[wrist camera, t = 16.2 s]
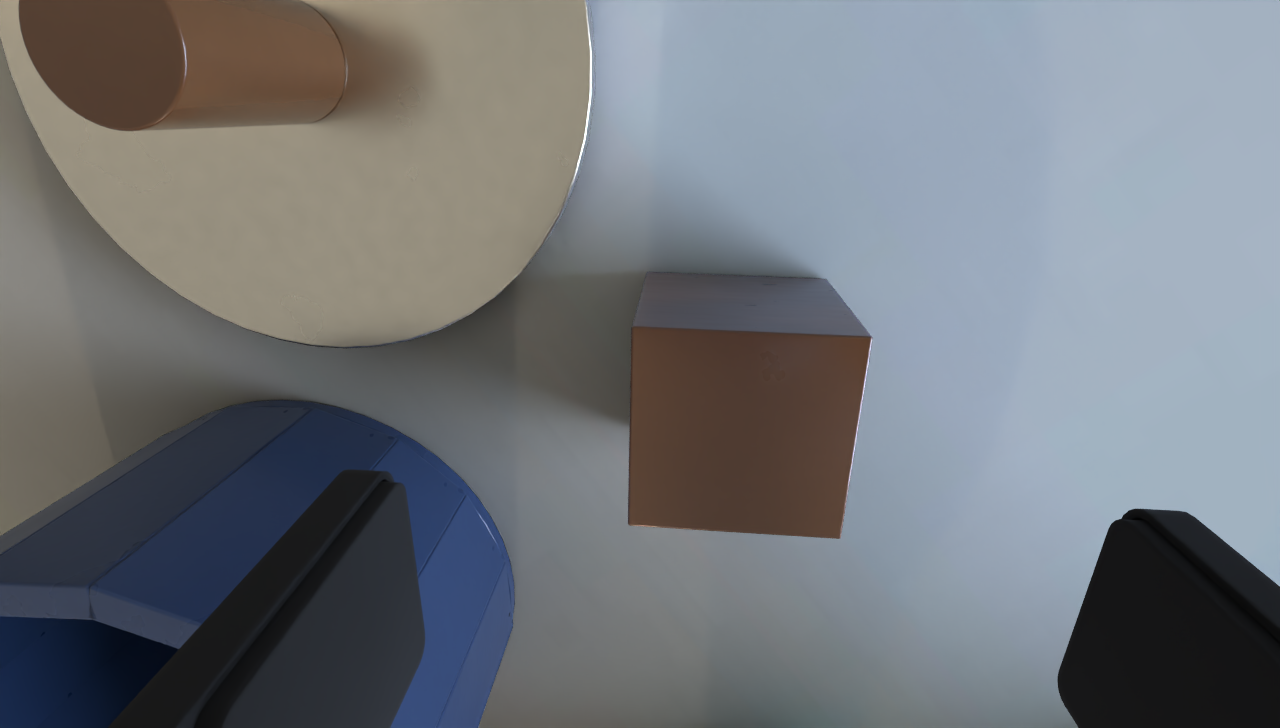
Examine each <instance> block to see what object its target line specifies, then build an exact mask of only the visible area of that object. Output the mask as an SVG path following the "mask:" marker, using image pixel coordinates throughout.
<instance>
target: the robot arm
mask: <svg viewBox="0 0 1280 728" xmlns="http://www.w3.org/2000/svg"><path fill="white" fill-rule="evenodd" d="M424 647H425V628H424V620H423V613H422V605H421V598H420V590H419V583H418V575H417V568H416V560H415V553H414V545H413V538H412V530H411V523H410V515H409V508H408V500H407V493H406V489H405V486H404V485H403V484H402V483H400V482H394V479H393V477H392V475H391V473H389V472H388V471H375V470H355V469H347V470H343V471H342V472H341V473H339V474H338V476H337V477H336V478H335V479H334V480H333V481H332V482H331V483H330V484H329V485H328V486H327V488H326V489H325V490H324V491H323V492H322V493H321V494H320V495H319V496H318V497H317V499H316V500H315V501H314V502H313V503H312V504H311V505H310V506H309V507H308V508H307V509H306V511H305V512H304V513H303V514H302V515H301V516H300V517H299V518H298V519H297V520H296V522H295V523H294V524H293V525H292V526H291V527H290V528H289V529H288V530H287V531H286V533H285V534H284V535H283V536H282V537H281V538H280V539H279V540H278V541H277V542H276V543H275V545H274V546H273V547H272V548H271V549H270V550H269V551H268V552H267V553H266V554H265V556H264V557H263V558H262V559H261V560H260V561H259V562H258V563H257V564H256V565H255V566H254V568H253V569H252V570H251V571H250V572H249V573H248V574H247V575H246V576H245V577H244V579H243V580H242V581H241V582H240V583H239V584H238V585H237V586H236V587H235V588H234V589H233V591H232V592H231V593H230V594H229V595H228V596H227V597H226V598H225V599H224V600H223V602H222V603H221V604H220V605H219V606H218V607H217V608H216V609H215V610H214V611H213V612H212V614H211V615H210V616H209V617H208V618H207V619H206V620H205V621H204V622H203V623H202V625H201V626H200V627H199V628H198V629H197V630H196V631H195V632H194V633H193V634H192V635H191V637H190V638H189V639H188V640H187V641H186V642H185V643H184V644H183V645H182V646H181V648H180V649H179V650H178V651H177V652H176V653H175V654H174V655H173V656H172V657H171V658H170V660H169V661H168V662H167V663H166V664H165V665H164V666H163V667H162V668H161V669H160V671H159V672H158V673H157V674H156V675H155V676H154V677H153V678H152V679H151V680H150V681H149V683H148V684H147V685H146V686H145V687H144V688H143V689H142V690H141V691H140V692H139V694H138V695H137V696H136V697H135V698H134V699H133V700H132V701H131V702H130V703H129V704H128V706H127V707H126V708H125V709H124V710H123V711H122V712H121V713H120V714H119V715H118V717H117V718H116V719H115V720H114V721H113V722H112V723H111V724H110V725H109V726H108V727H107V728H390V727H391V725H392V723H393V721H394V718H395V716H396V714H397V712H398V710H399V708H400V705H401V703H402V701H403V699H404V697H405V695H406V693H407V690H408V688H409V686H410V684H411V682H412V680H413V677H414V675H415V673H416V671H417V669H418V667H419V664H420V662H421V659H422V656H423V652H424ZM1058 689H1059V693H1060V696H1061V699H1062V701H1063V703H1064V705H1065V707H1066V708H1067V710H1068V712H1069V713H1070V715H1071V716H1072V718H1073V719H1074V721H1075V723H1076V724H1077V726H1078V727H1079V728H1280V587H1279V586H1278V585H1277V584H1276V583H1275V582H1273V581H1272V580H1271V579H1270V578H1268V577H1267V576H1266V575H1265V574H1264V573H1262V572H1261V571H1260V570H1259V569H1257V568H1256V567H1255V566H1254V565H1253V564H1251V563H1250V562H1249V561H1248V560H1246V559H1245V558H1244V557H1243V556H1242V555H1240V554H1239V553H1238V552H1237V551H1235V550H1234V549H1233V548H1232V547H1230V546H1229V545H1228V544H1227V543H1226V542H1224V541H1223V540H1222V539H1221V538H1219V537H1218V536H1217V535H1216V534H1215V533H1213V532H1212V531H1211V530H1210V529H1208V528H1207V527H1206V526H1205V525H1204V524H1202V523H1201V522H1200V521H1199V520H1197V519H1196V518H1195V517H1194V516H1192V515H1190V514H1188V513H1187V512H1182V511H1171V510H1151V509H1133V510H1129V511H1128V512H1127V513H1126V514H1124V515H1123V517H1122V519H1119V520H1116V521H1114V522H1113V523H1112V524H1111V526H1110V528H1109V529H1108V532H1107V535H1106V538H1105V541H1104V544H1103V547H1102V549H1101V552H1100V555H1099V558H1098V561H1097V564H1096V566H1095V569H1094V572H1093V575H1092V578H1091V581H1090V584H1089V586H1088V589H1087V592H1086V595H1085V598H1084V601H1083V604H1082V606H1081V609H1080V612H1079V615H1078V618H1077V621H1076V624H1075V626H1074V629H1073V632H1072V635H1071V638H1070V641H1069V644H1068V646H1067V649H1066V652H1065V655H1064V658H1063V661H1062V664H1061V666H1060V669H1059V673H1058Z"/></svg>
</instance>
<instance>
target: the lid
mask: <svg viewBox="0 0 1280 728" xmlns="http://www.w3.org/2000/svg"><path fill="white" fill-rule="evenodd" d="M0 40H1V43H2V47H3V50H4V54H5V57H6V61H7V64H8V68H9V71H10V74H11V76H12V79H13V81H14V84H15V86H16V89H17V92H18V94H19V97H20V99H21V102H22V104H23V107H24V109H25V112H26V114H27V116H28V118H29V120H30V122H31V124H32V125H33V127H34V129H35V131H36V133H37V135H38V137H39V139H40V141H41V143H42V145H43V147H44V149H45V151H46V152H47V154H48V155H49V157H50V159H51V160H52V162H53V163H54V165H55V166H56V168H57V170H58V171H59V173H60V174H61V176H62V177H63V179H64V181H65V182H66V184H67V185H68V187H69V188H70V189H71V191H72V192H73V193H74V194H75V196H76V197H77V198H78V200H79V201H80V202H81V203H82V205H83V206H84V207H85V209H86V210H87V211H88V212H89V214H90V215H91V216H92V218H93V219H94V220H95V221H96V222H97V223H98V224H99V225H100V226H101V227H102V228H103V229H104V231H105V232H106V233H107V234H108V235H109V236H110V237H111V238H112V239H113V240H114V241H115V242H116V243H117V244H118V245H119V246H120V248H121V249H123V250H124V251H125V252H126V253H127V254H128V255H129V256H131V257H132V258H133V259H134V260H135V261H136V262H137V263H139V264H140V265H141V266H142V267H143V268H144V269H145V270H147V271H148V272H149V273H150V274H151V275H153V276H154V277H155V278H157V279H158V280H160V281H161V282H162V283H164V284H165V285H167V286H168V287H169V288H171V289H172V290H174V291H175V292H176V293H178V294H179V295H180V296H182V297H184V298H185V299H187V300H189V301H191V302H192V303H194V304H196V305H198V306H199V307H201V308H203V309H205V310H206V311H208V312H210V313H212V314H213V315H215V316H218V317H220V318H222V319H225V320H227V321H229V322H231V323H234V324H236V325H238V326H240V327H243V328H245V329H247V330H251V331H254V332H257V333H260V334H263V335H266V336H270V337H273V338H276V339H279V340H284V341H289V342H294V343H300V344H305V345H310V346H319V347H334V348H362V347H379V346H384V345H389V344H395V343H400V342H405V341H410V340H413V339H416V338H419V337H422V336H425V335H428V334H431V333H434V332H437V331H439V330H442V329H444V328H446V327H448V326H450V325H452V324H454V323H456V322H458V321H460V320H462V319H463V318H465V317H467V316H469V315H471V314H472V313H474V312H475V311H477V310H478V309H479V308H481V307H482V306H484V305H485V304H486V303H488V302H489V301H491V300H492V299H493V298H495V297H496V296H497V295H498V294H500V293H501V292H502V291H503V290H504V289H505V288H506V287H507V286H508V285H509V284H510V283H511V282H512V281H513V280H514V279H515V278H516V277H517V276H518V275H519V274H521V273H522V272H523V271H524V270H525V269H526V267H527V266H528V265H529V264H530V262H531V261H532V260H533V259H534V257H535V256H536V255H537V254H538V252H539V251H540V250H541V248H542V247H543V246H544V245H545V243H546V242H547V240H548V239H549V237H550V235H551V234H552V232H553V230H554V228H555V227H556V225H557V223H558V222H559V220H560V218H561V217H562V215H563V213H564V211H565V209H566V207H567V204H568V202H569V199H570V197H571V195H572V192H573V190H574V187H575V185H576V183H577V180H578V178H579V175H580V171H581V167H582V163H583V160H584V156H585V152H586V149H587V145H588V141H589V136H590V129H591V122H592V115H593V107H594V100H595V57H596V55H595V45H594V35H593V25H592V15H591V8H590V3H589V0H0Z"/></svg>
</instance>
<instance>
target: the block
mask: <svg viewBox="0 0 1280 728" xmlns="http://www.w3.org/2000/svg"><path fill="white" fill-rule="evenodd" d="M872 340H873V339H872V336H871V335H870V334H869V332H868V331H867V330H866V329H865V327H864V326H863V325H862V324H861V322H860V321H859V320H858V319H857V317H856V316H855V315H854V313H853V312H852V311H851V310H850V308H849V307H848V306H847V305H846V303H845V302H844V301H843V299H842V298H841V297H840V296H839V294H838V293H837V292H836V291H835V289H834V288H833V287H832V285H831V284H830V283H829V282H828V280H827V279H815V278H790V277H764V276H738V275H712V274H686V273H660V272H647V274H646V277H645V281H644V285H643V288H642V292H641V296H640V299H639V303H638V306H637V310H636V314H635V317H634V321H633V324H632V328H631V381H630V437H629V493H628V524H629V525H630V526H644V527H660V528H676V529H692V530H708V531H724V532H740V533H756V534H772V535H788V536H804V537H820V538H836V539H839V538H840V537H841V533H842V527H843V520H844V514H845V508H846V502H847V495H848V489H849V483H850V477H851V471H852V464H853V458H854V452H855V446H856V439H857V433H858V427H859V421H860V414H861V408H862V402H863V396H864V389H865V383H866V377H867V371H868V364H869V358H870V352H871V346H872Z"/></svg>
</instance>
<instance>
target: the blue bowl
mask: <svg viewBox="0 0 1280 728" xmlns="http://www.w3.org/2000/svg"><path fill="white" fill-rule="evenodd" d="M347 469H355V470H375V471H388V472H389V473H391V475H392V477H393V479H394V482H400V483H402V484H403V485H404V486H405V489H406V493H407V500H408V508H409V515H410V523H411V530H412V538H413V545H414V553H415V560H416V568H417V575H418V583H419V590H420V598H421V605H422V613H423V620H424V628H425V647H424V652H423V656H422V659H421V662H420V664H419V667H418V669H417V671H416V673H415V675H414V677H413V680H412V682H411V684H410V686H409V688H408V690H407V693H406V695H405V697H404V699H403V701H402V703H401V705H400V708H399V710H398V712H397V714H396V716H395V718H394V721H393V723H392V725H391V727H390V728H478V726H479V724H480V721H481V718H482V715H483V712H484V709H485V706H486V703H487V700H488V697H489V695H490V692H491V689H492V686H493V683H494V680H495V677H496V674H497V671H498V669H499V666H500V663H501V660H502V657H503V654H504V651H505V648H506V645H507V643H508V640H509V637H510V634H511V631H512V628H513V612H514V605H515V598H514V580H513V575H512V570H511V564H510V560H509V557H508V554H507V551H506V548H505V546H504V543H503V540H502V538H501V536H500V534H499V532H498V530H497V528H496V526H495V524H494V522H493V520H492V518H491V516H490V515H489V513H488V512H487V511H486V509H485V508H484V506H483V505H482V503H481V502H480V500H479V499H478V497H477V496H476V495H475V494H474V493H473V491H472V490H471V489H470V488H469V487H468V486H467V485H466V483H465V482H464V481H463V480H462V479H461V478H460V477H459V476H458V475H457V474H456V473H455V472H454V471H453V470H452V469H451V468H449V467H448V466H447V465H446V464H445V463H444V462H443V461H442V460H441V459H440V458H438V457H437V456H435V455H434V454H433V453H431V452H430V451H429V450H427V449H426V448H424V447H423V446H422V445H420V444H419V443H418V442H416V441H414V440H413V439H411V438H409V437H407V436H406V435H404V434H402V433H400V432H399V431H397V430H395V429H393V428H392V427H389V426H387V425H385V424H383V423H380V422H378V421H376V420H373V419H371V418H369V417H366V416H364V415H361V414H357V413H354V412H351V411H348V410H345V409H341V408H338V407H334V406H328V405H323V404H318V403H313V402H304V401H290V400H272V401H254V402H249V403H244V404H238V405H233V406H229V407H226V408H223V409H220V410H217V411H214V412H211V413H208V414H206V415H204V416H202V417H200V418H199V419H197V420H195V421H193V422H191V423H189V424H187V425H186V426H184V427H181V428H179V429H177V430H174V431H172V432H170V433H167V434H165V435H163V436H162V437H160V438H158V439H157V440H155V441H153V442H152V443H150V444H149V445H147V446H145V447H144V448H142V449H140V450H139V451H137V452H136V453H134V454H132V455H131V456H129V457H128V458H126V459H124V460H123V461H121V462H119V463H118V464H116V465H115V466H113V467H111V468H110V469H108V470H107V471H105V472H103V473H102V474H100V475H98V476H97V477H95V478H94V479H92V480H90V481H89V482H87V483H85V484H84V485H82V486H81V487H79V488H77V489H76V490H74V491H73V492H71V493H69V494H68V495H66V496H64V497H63V498H61V499H60V500H58V501H56V502H55V503H53V504H51V505H50V506H48V507H47V508H45V509H43V510H42V511H40V512H39V513H37V514H35V515H34V516H32V517H30V518H29V519H27V520H26V521H24V522H22V523H21V524H19V525H18V526H16V527H14V528H13V529H11V530H9V531H8V532H6V533H5V534H3V535H1V536H0V728H107V727H108V726H109V725H110V724H111V723H112V722H113V721H114V720H115V719H116V718H117V717H118V715H119V714H120V713H121V712H122V711H123V710H124V709H125V708H126V707H127V706H128V704H129V703H130V702H131V701H132V700H133V699H134V698H135V697H136V696H137V695H138V694H139V692H140V691H141V690H142V689H143V688H144V687H145V686H146V685H147V684H148V683H149V681H150V680H151V679H152V678H153V677H154V676H155V675H156V674H157V673H158V672H159V671H160V669H161V668H162V667H163V666H164V665H165V664H166V663H167V662H168V661H169V660H170V658H171V657H172V656H173V655H174V654H175V653H176V652H177V651H178V650H179V649H180V648H181V646H182V645H183V644H184V643H185V642H186V641H187V640H188V639H189V638H190V637H191V635H192V634H193V633H194V632H195V631H196V630H197V629H198V628H199V627H200V626H201V625H202V623H203V622H204V621H205V620H206V619H207V618H208V617H209V616H210V615H211V614H212V612H213V611H214V610H215V609H216V608H217V607H218V606H219V605H220V604H221V603H222V602H223V600H224V599H225V598H226V597H227V596H228V595H229V594H230V593H231V592H232V591H233V589H234V588H235V587H236V586H237V585H238V584H239V583H240V582H241V581H242V580H243V579H244V577H245V576H246V575H247V574H248V573H249V572H250V571H251V570H252V569H253V568H254V566H255V565H256V564H257V563H258V562H259V561H260V560H261V559H262V558H263V557H264V556H265V554H266V553H267V552H268V551H269V550H270V549H271V548H272V547H273V546H274V545H275V543H276V542H277V541H278V540H279V539H280V538H281V537H282V536H283V535H284V534H285V533H286V531H287V530H288V529H289V528H290V527H291V526H292V525H293V524H294V523H295V522H296V520H297V519H298V518H299V517H300V516H301V515H302V514H303V513H304V512H305V511H306V509H307V508H308V507H309V506H310V505H311V504H312V503H313V502H314V501H315V500H316V499H317V497H318V496H319V495H320V494H321V493H322V492H323V491H324V490H325V489H326V488H327V486H328V485H329V484H330V483H331V482H332V481H333V480H334V479H335V478H336V477H337V476H338V474H339V473H341V472H342V471H343V470H347Z"/></svg>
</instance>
